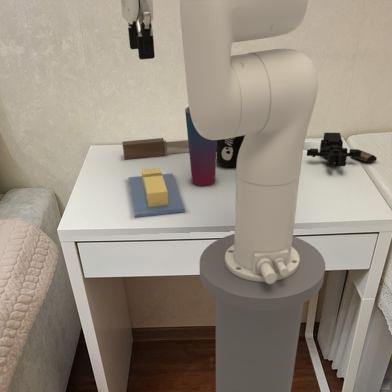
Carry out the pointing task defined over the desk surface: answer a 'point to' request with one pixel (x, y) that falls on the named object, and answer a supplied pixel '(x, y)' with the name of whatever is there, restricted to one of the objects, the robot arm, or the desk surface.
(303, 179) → the desk surface
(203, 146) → the cup
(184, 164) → the desk surface
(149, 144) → the knife
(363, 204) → the desk surface
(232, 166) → the beverage can
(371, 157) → the block
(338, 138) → the toy
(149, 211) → the butter plate
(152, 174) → the butter pat
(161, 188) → the butter bar
